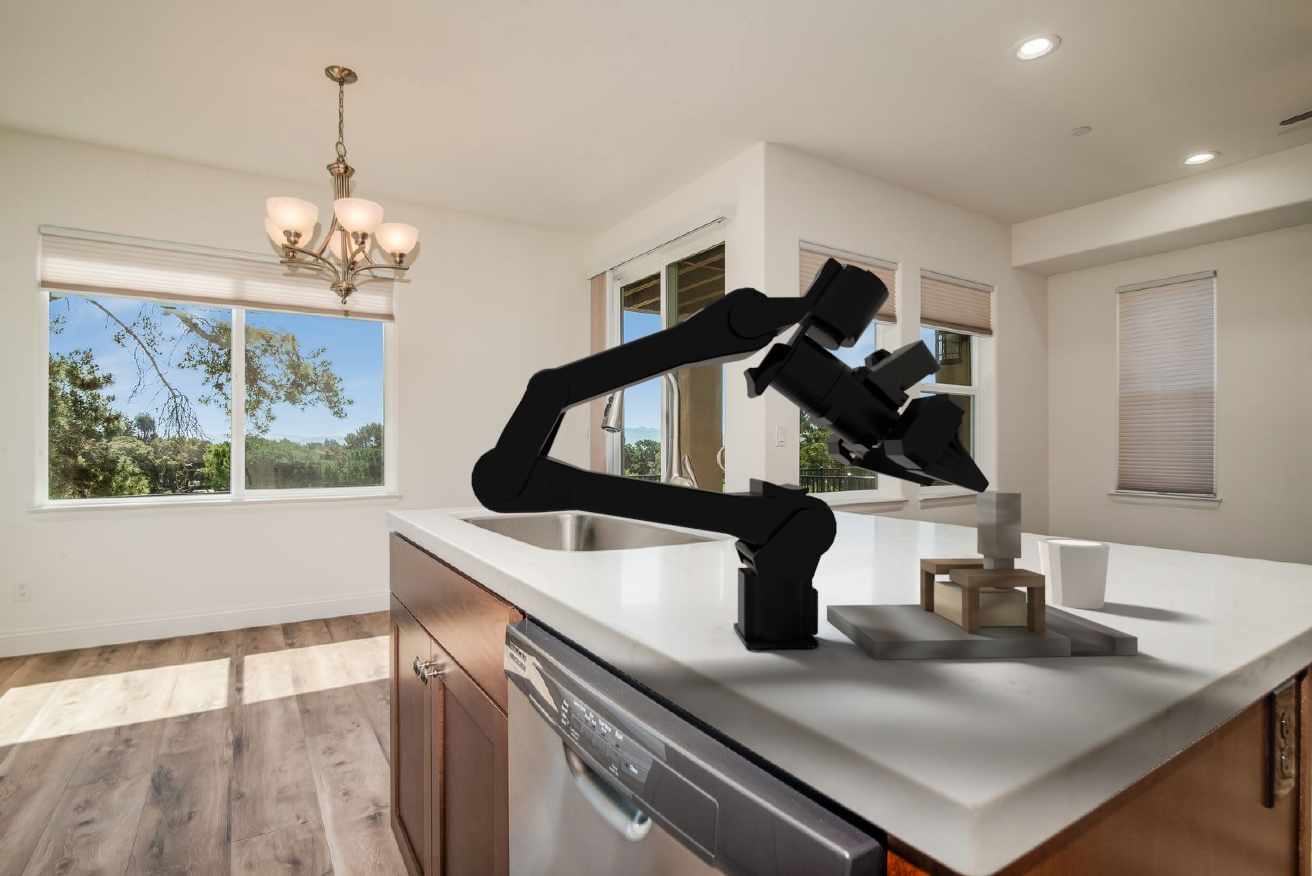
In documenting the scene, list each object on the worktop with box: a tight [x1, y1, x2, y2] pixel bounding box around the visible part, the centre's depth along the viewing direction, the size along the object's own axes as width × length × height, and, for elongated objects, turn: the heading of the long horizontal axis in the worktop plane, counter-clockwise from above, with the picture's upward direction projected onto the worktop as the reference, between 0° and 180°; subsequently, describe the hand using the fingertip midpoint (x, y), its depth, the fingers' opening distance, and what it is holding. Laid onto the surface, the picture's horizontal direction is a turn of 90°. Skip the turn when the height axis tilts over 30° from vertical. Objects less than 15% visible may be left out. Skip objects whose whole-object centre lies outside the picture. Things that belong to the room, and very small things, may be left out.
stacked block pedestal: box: [934, 490, 1027, 626], centre depth 59 cm, size 6×5×12 cm
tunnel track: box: [826, 557, 1139, 660], centre depth 59 cm, size 23×12×6 cm, turn 94°
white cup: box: [1037, 537, 1111, 610], centre depth 72 cm, size 7×7×7 cm
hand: (956, 485), depth 59 cm, fingers open, 9 cm apart
